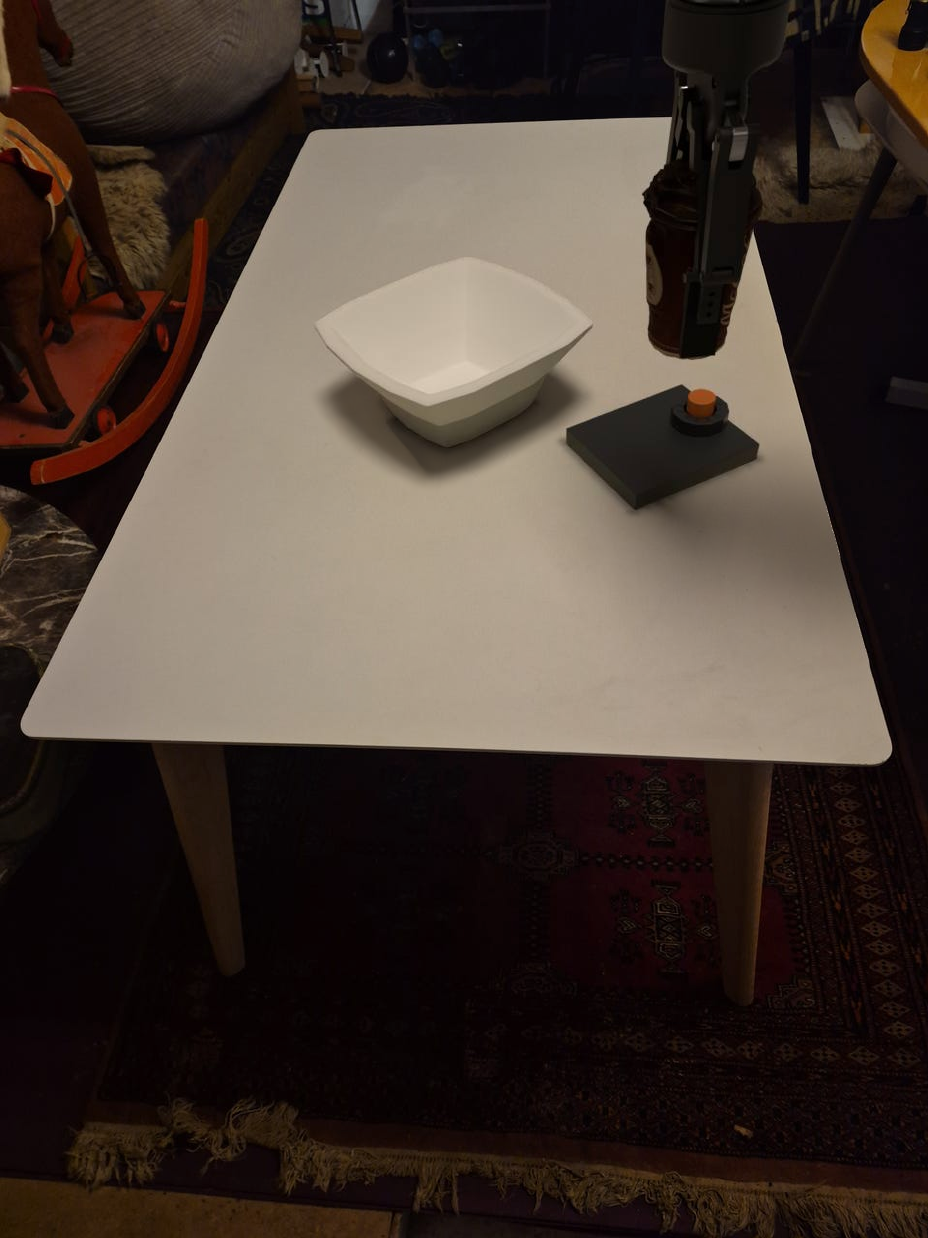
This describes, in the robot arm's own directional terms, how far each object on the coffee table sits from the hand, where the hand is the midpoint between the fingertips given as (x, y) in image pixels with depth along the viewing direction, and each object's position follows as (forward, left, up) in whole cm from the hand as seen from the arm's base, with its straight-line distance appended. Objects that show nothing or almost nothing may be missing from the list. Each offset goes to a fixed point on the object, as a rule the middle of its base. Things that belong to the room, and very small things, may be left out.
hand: (685, 326), depth 70 cm
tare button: (+12, -6, -17) cm, 21 cm away
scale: (+10, -1, -20) cm, 22 cm away
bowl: (+22, +20, -20) cm, 35 cm away
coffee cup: (0, 0, -1) cm, 1 cm away
